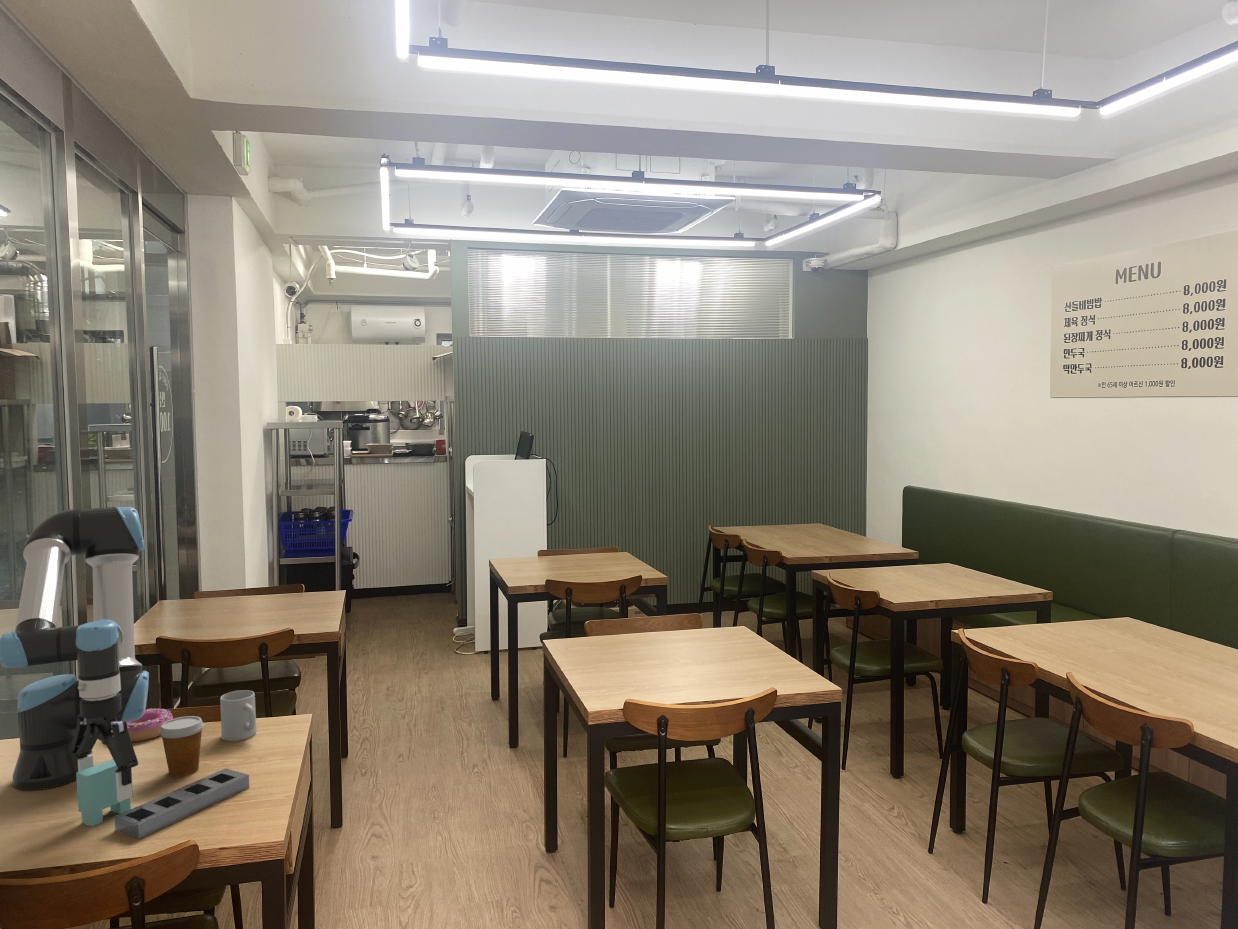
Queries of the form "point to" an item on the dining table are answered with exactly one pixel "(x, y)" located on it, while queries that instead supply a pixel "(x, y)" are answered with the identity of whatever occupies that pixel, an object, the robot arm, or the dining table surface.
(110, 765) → the mint green arch block
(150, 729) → the donut
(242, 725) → the mug
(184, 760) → the disposable coffee cup
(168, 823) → the grey long flat bar
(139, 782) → the dining table surface
